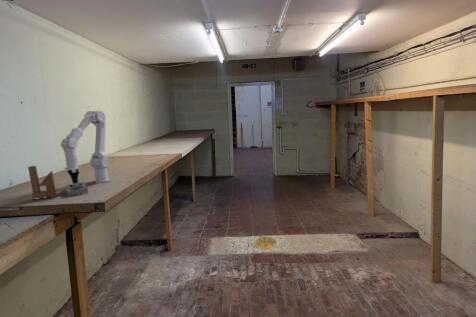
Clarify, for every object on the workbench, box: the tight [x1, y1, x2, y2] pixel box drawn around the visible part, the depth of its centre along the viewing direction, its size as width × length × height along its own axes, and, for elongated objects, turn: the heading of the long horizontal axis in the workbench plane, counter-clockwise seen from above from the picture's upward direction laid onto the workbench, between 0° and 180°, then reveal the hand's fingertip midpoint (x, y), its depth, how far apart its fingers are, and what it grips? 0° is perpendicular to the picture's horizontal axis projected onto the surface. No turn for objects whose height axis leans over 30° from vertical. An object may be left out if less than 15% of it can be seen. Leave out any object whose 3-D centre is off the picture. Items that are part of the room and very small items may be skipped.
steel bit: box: [70, 173, 81, 187], centre depth 193 cm, size 4×4×7 cm
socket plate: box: [65, 181, 89, 197], centre depth 191 cm, size 16×10×3 cm, turn 31°
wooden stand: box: [27, 165, 57, 200], centre depth 181 cm, size 4×11×18 cm, turn 107°
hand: (75, 182), depth 193 cm, fingers closed on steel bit, 4 cm apart
